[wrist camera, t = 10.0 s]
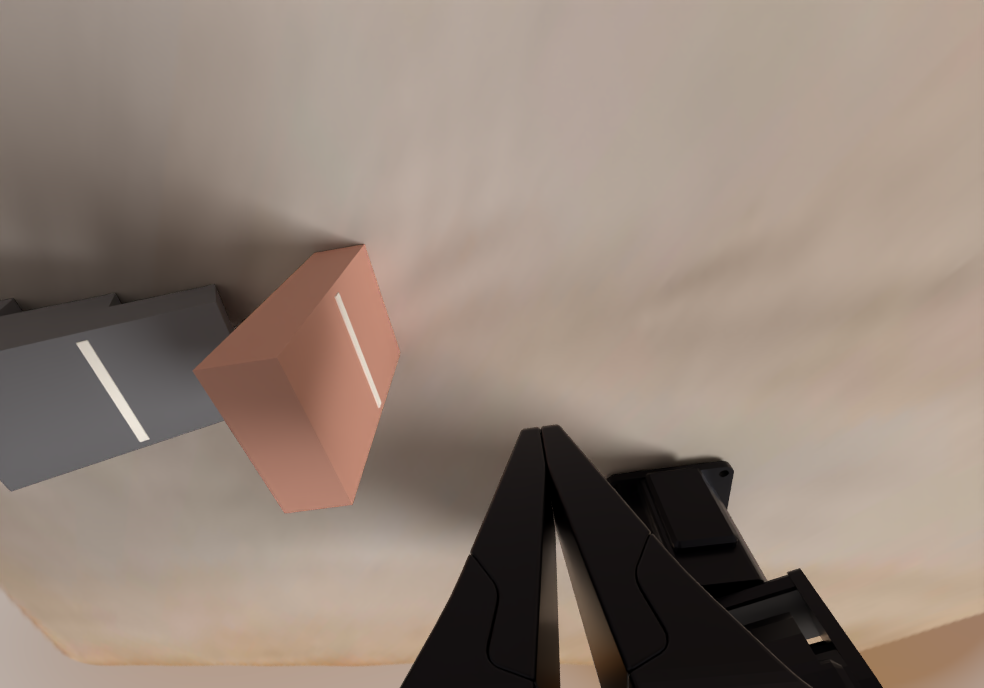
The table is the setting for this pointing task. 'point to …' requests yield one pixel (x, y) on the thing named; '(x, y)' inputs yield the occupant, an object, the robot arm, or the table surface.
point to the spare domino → (308, 379)
